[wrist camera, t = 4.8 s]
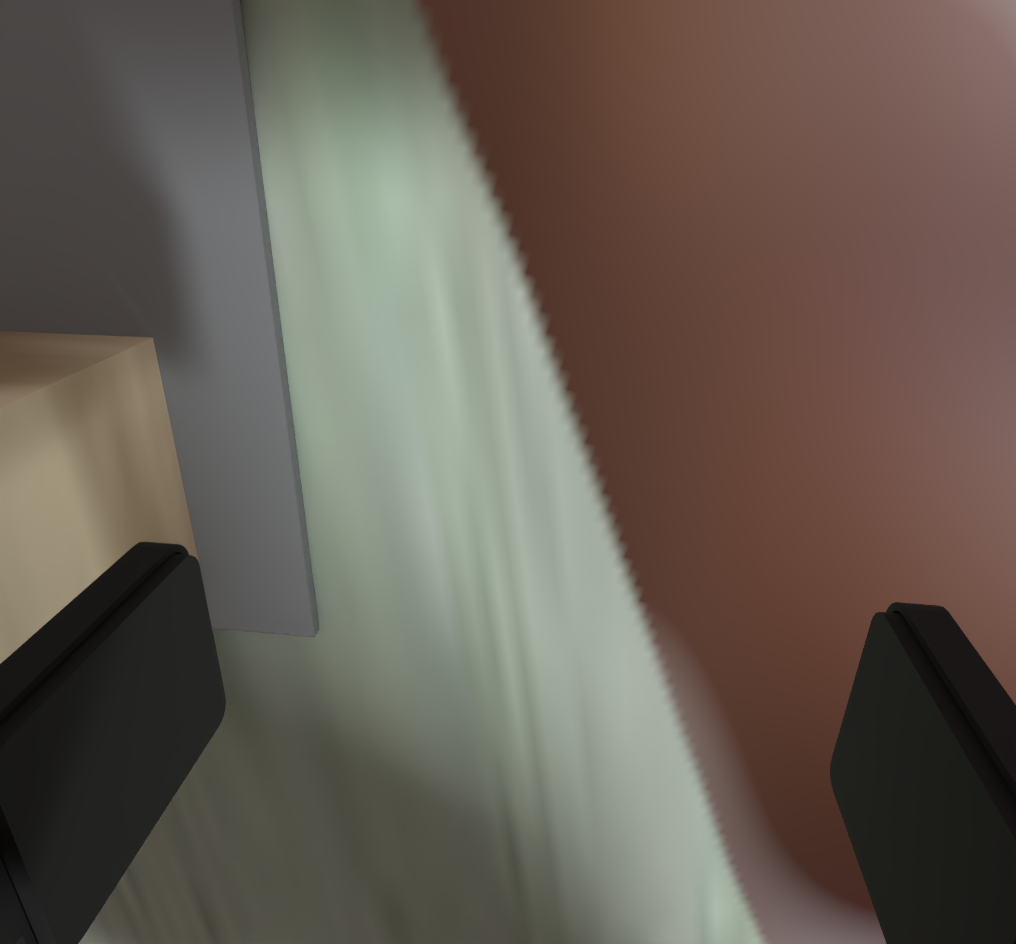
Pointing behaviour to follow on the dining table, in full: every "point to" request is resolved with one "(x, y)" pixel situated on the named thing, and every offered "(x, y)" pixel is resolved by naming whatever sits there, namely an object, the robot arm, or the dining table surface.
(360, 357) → the dining table surface
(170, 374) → the mat
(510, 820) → the dining table surface
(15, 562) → the maple block
